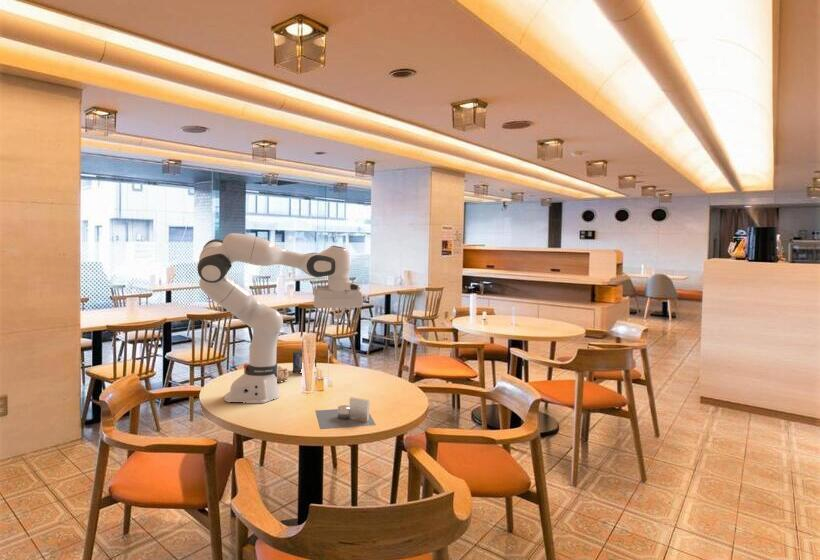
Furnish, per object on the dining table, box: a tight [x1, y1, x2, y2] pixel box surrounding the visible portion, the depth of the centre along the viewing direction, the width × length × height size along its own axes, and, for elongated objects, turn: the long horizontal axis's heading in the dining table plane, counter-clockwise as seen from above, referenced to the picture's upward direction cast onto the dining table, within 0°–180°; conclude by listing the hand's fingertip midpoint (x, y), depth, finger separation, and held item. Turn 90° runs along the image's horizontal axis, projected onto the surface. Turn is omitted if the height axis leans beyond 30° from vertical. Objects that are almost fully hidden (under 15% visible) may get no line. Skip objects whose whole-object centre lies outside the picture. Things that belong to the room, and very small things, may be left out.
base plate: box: [315, 408, 377, 430], centre depth 189 cm, size 20×20×1 cm
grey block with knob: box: [337, 396, 370, 421], centre depth 187 cm, size 12×5×8 cm, turn 66°
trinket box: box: [277, 364, 290, 383], centre depth 240 cm, size 13×15×8 cm
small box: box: [292, 349, 318, 374], centre depth 256 cm, size 11×6×10 cm, turn 70°
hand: (338, 318), depth 209 cm, fingers closed
